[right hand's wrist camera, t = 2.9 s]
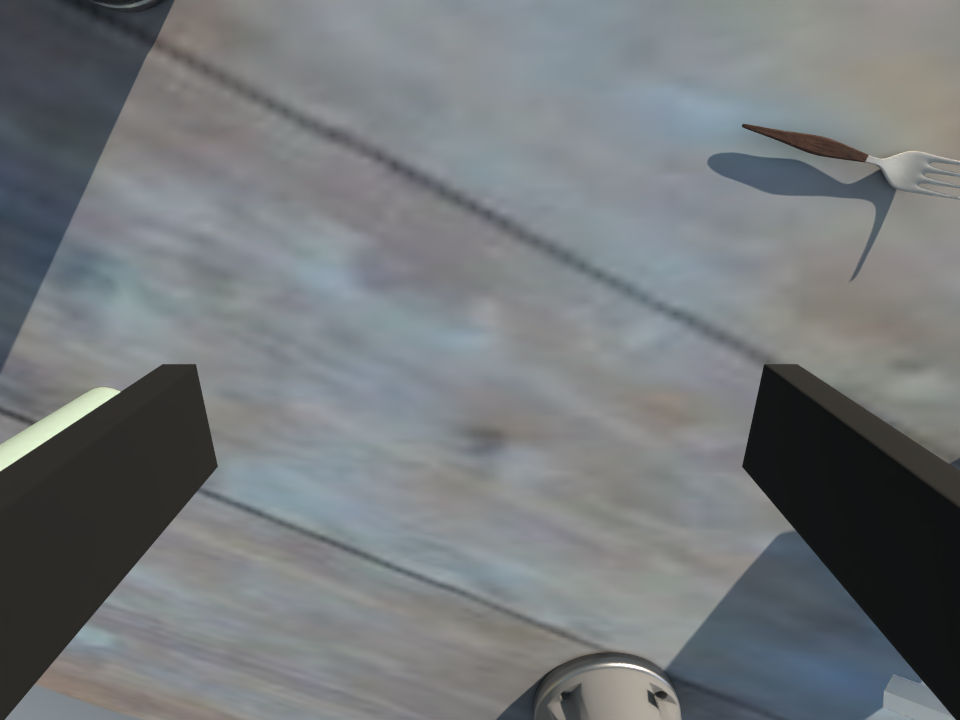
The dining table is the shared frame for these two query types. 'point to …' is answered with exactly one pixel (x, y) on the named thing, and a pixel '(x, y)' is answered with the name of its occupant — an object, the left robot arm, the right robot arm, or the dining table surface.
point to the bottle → (52, 425)
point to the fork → (871, 160)
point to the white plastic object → (913, 700)
